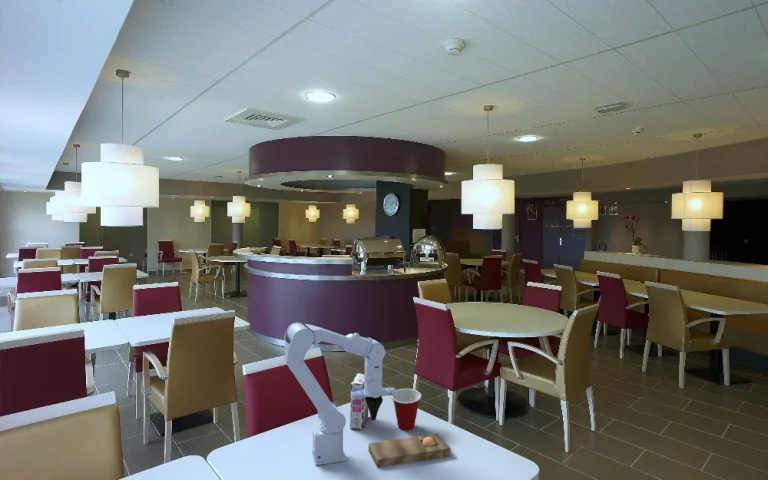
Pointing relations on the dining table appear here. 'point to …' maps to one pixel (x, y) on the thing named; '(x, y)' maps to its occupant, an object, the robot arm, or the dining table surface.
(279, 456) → the dining table surface
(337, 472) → the dining table surface
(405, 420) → the plastic cup
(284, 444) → the dining table surface
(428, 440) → the ball
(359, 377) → the candy bar box
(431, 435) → the deck
